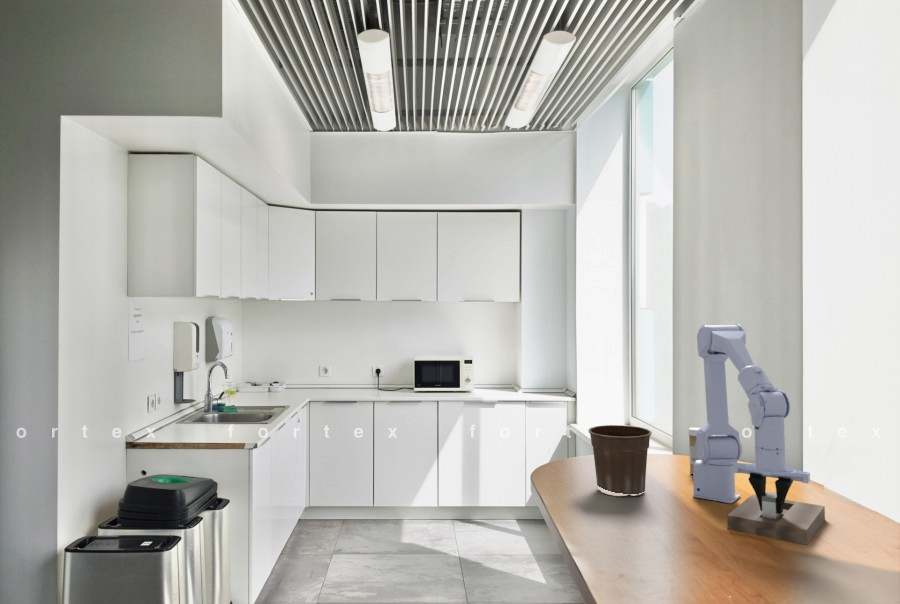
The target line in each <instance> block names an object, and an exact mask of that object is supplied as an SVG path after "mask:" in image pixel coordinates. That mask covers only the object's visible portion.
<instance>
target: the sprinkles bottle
mask: <svg viewBox="0 0 900 604" xmlns="http://www.w3.org/2000/svg"><path fill="white" fill-rule="evenodd" d="M700 428H701V427H689V428H688V436H689V444H688V445H689V446H688V447H689V451H688V452H689V469H690V470H689V474H690V473H691V474H693V468H694V463H695V462H696V460H700V459H699V457H698V456H697V453H696V449H695V443H696V438H697V430H699V429H700ZM691 474H690V475H691Z"/></svg>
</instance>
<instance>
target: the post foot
mask: <svg viewBox="0 0 900 604" xmlns="http://www.w3.org/2000/svg"><path fill="white" fill-rule="evenodd" d="M825 509H826V508H825V505H819V504H815V503H814V504H813V503H807V502H801V501H794V500H789V499H785V502H784V506H783V512H782V513H781V519H780V520H779V521H775V520H770V519H765V518H762V511H761V510H760V505H759V502H758V499H757V496H756V494H751V495H750V496H748V497H747V498H746V499H745V500H744V501H742V502H741V503H740V504H739V505H737V507H735V508H734V509H732V511H730V512H729V513H728V514H726V515H727V516H726V517H727V518H726V519H727V530H730V531H735V532H740V533H746V534H751V535H755V536H760V537H765V538H769V539H774V540H780V541H784V542H790V543H795V544H800V545H804V546H808V545H809V543H810V542H811V540H812V539H813V538H814V536H815V535H816V534H817V532H818V530H819V529H820V528H821V526H822V524H823V523H824V522H825V520H826V514H825V513H826V510H825Z"/></svg>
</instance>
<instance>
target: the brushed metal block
mask: <svg viewBox="0 0 900 604" xmlns="http://www.w3.org/2000/svg"><path fill="white" fill-rule="evenodd" d="M762 518H765V519H770V520H775V521H779V520H780V519H781V514H777V493H776V492H769V491H767V492H766V493H765V494H764V495H763V496H762Z"/></svg>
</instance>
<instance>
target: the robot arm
mask: <svg viewBox="0 0 900 604" xmlns="http://www.w3.org/2000/svg"><path fill="white" fill-rule="evenodd" d="M746 341H747V335H746V332H745V329H744V328H743V326H742V325H741V324H738V323H737V324H736V323H735V324H719V325H718V324H716V325H715V324H713V325H712V324H710V325H708V324H702V325H701V326H700V327H699V329H698V332H697V333H696V342H697V346H696V347H697V354H698V357H699V358H702V359H703V371H704V372H703V373H704V389H705V403H706V404H705V406H706V418H707V420H706V421H707V422H706V423H705V424H703V425H702V426H701V427H699V428H700V429H699V430H697V438H696V443H695V449H696V453H697V456H698V457H699V459H700V460H696V462H695V463H694V468H693V475H692V477H693V479H692V480H693V482H692V484H693V494H692V497H693V498H698V499H704V500H709V501H715V502H721V503H726V504H733V503H734V502H735V501H736V500H738V499H739V498H740V497H741V494H738V493H736V479H735V477H736V474H746V475H749V477H748V481H749V483H750V486H751V487H752V490H753V492H754V493H755V495H756V496H757V499H758V502H759V505H760V510H761V511H762V496H763V495H764V494H765V493H767V492H766V489H767V487H766V485H767V478H772V479H777V480H775V481H774V485H775V493H776V494H777V514H781V513H782V512H783V506H784V502H785V500H786V498H787V495H788V493H789V490H790V488H791V487H792V484H793V482H801V483H803V484H809V483H810V482H811V472H809V471H803V470H797V469H793V468H789V467H786V448H785V447H786V443H785V441H786V440H785V439H786V438H785V419H786V418H787V417H788V416H789V414H790V410H791V406H790V405H791V404H790V399H789V397H788V396H787V394H786V392H785V391H783V390H780V389H779V388H778V387H775V386H774V385H773V383H772V382H771V379H769V377H768V375H767V374H766V372H765V371H764V369H763V368H762V367H761V366H758V365H755V363H754V362H753V359H752V357H751V356H750V354H749V351H748V349H747V347H746V343H747V342H746ZM728 358H729V360H730V361H731V363H732V364H733V366H734V367H735V369H737V371H738V372H739V373H738V375H737V380H738V382H739V385H740V386H741V387H742V389H743V391H744V393H745V394H746V396H747V398H748V399H749V400H748V403H747V406H748V411H749V414H750V417H751V418H750V419H751V420H750V421H751V425H752V426H754V451H755V452H754V456H755V457H754V458H755V459H754V460H755V463H743V462H738V461H739V460H740V459H741V457H742V454H743V446H742V442H741V439H740V433H739V431H738V430H737V429H736V428H735V427H733V426H732V425H730V422H729V411H728V410H729V408H728V407H729V406H728V396H727V395H728V393H727V379H726V377H727V376H726V361H727V360H728Z"/></svg>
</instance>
